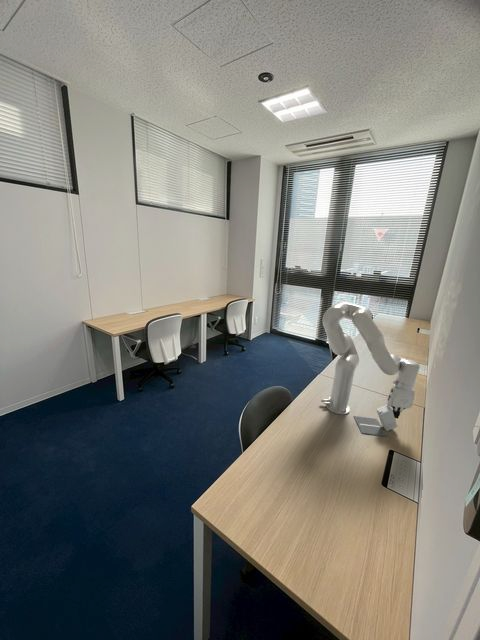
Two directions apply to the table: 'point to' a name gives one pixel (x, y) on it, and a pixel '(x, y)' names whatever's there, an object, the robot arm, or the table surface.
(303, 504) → the table surface
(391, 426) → the skincare box
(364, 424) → the mat
